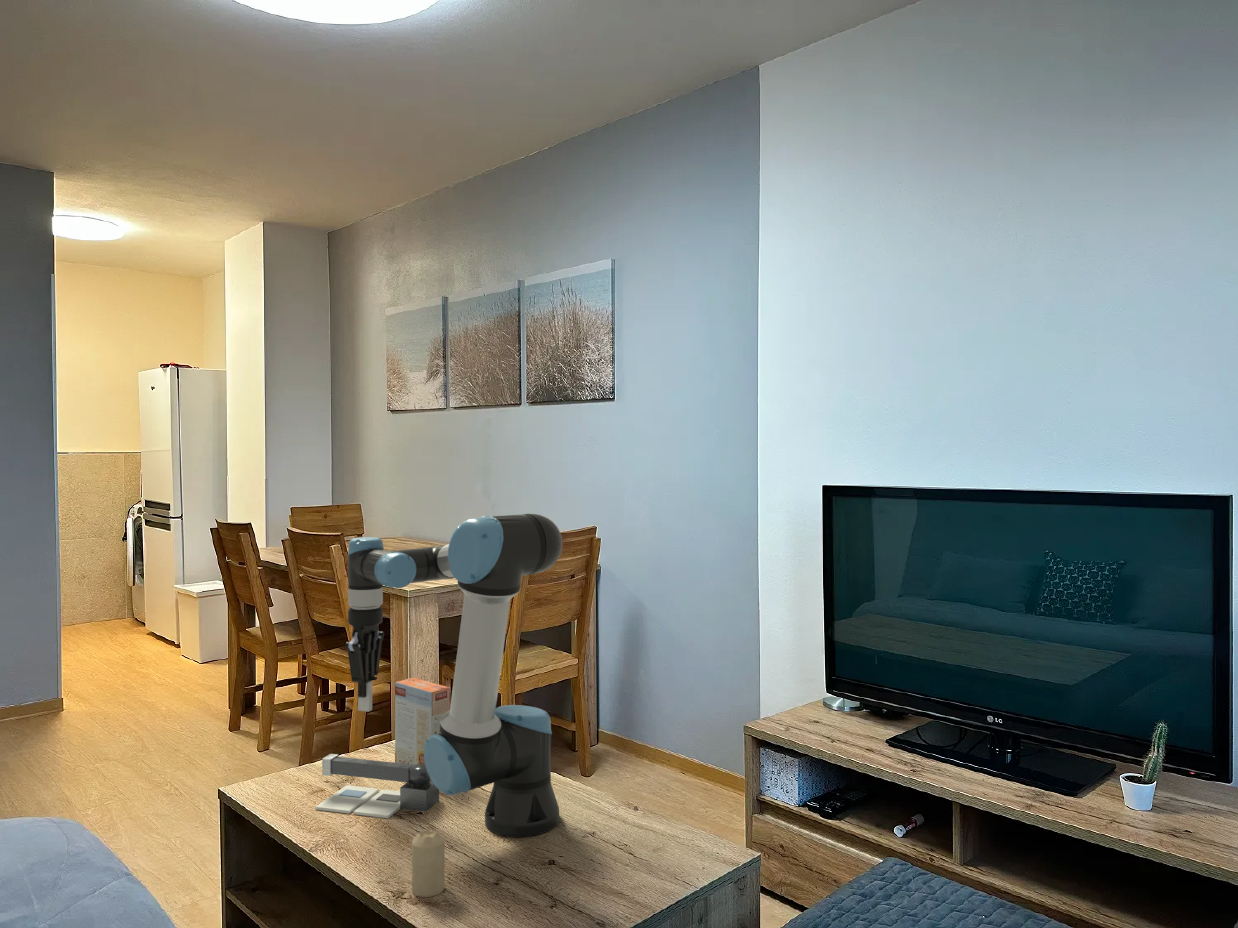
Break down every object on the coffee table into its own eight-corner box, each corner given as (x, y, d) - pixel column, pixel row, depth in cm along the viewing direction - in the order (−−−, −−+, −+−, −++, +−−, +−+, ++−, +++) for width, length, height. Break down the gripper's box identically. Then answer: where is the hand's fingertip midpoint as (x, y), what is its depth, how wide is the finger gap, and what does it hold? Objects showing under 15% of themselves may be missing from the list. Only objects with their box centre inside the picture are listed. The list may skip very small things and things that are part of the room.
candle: (446, 881, 155) (447, 825, 155) (441, 897, 149) (441, 839, 149) (415, 881, 155) (415, 825, 154) (409, 897, 149) (409, 839, 149)
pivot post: (438, 800, 190) (438, 779, 189) (426, 811, 184) (426, 790, 184) (413, 797, 191) (413, 777, 191) (400, 808, 185) (400, 787, 185)
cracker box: (451, 775, 204) (451, 686, 203) (430, 783, 199) (430, 692, 198) (414, 761, 213) (414, 675, 212) (393, 768, 208) (393, 680, 208)
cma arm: (433, 779, 189) (433, 763, 189) (424, 787, 185) (424, 770, 185) (332, 768, 195) (332, 752, 195) (320, 775, 191) (320, 759, 191)
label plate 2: (415, 795, 192) (415, 792, 192) (388, 818, 180) (388, 814, 180) (382, 791, 194) (382, 788, 194) (353, 814, 182) (353, 810, 182)
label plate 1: (378, 791, 194) (378, 787, 194) (349, 813, 183) (349, 809, 183) (346, 787, 196) (346, 784, 196) (315, 809, 185) (315, 805, 185)
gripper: (365, 600, 205) (365, 700, 205) (334, 610, 192) (334, 717, 193) (394, 601, 203) (394, 703, 204) (365, 612, 190) (364, 720, 191)
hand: (365, 709), depth 198 cm, fingers closed
